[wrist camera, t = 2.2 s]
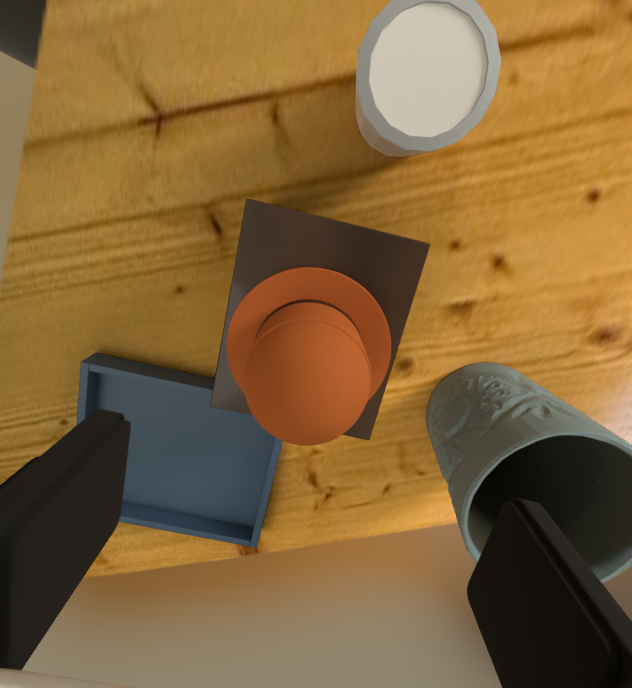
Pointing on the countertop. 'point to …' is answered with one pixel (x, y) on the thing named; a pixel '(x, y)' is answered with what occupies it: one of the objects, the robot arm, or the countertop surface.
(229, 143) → the countertop surface
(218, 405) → the stand block
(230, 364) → the hat
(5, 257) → the countertop surface
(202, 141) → the countertop surface
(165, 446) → the tray
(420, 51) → the shot glass
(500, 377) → the grey-green cup
